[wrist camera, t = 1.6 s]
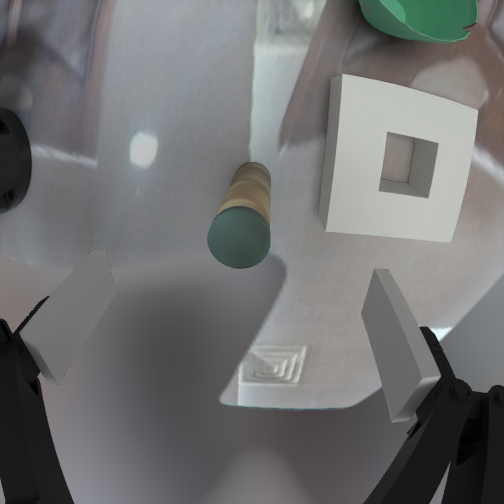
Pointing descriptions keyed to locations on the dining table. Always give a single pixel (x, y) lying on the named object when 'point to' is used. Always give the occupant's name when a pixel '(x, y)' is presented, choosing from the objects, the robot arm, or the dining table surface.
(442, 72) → the dining table surface
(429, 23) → the mug
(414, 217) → the socket block
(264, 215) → the peg
